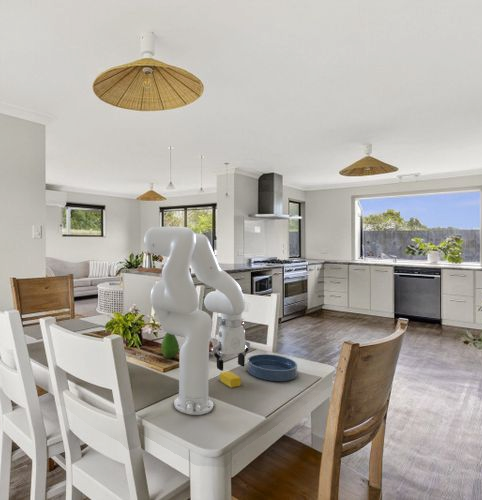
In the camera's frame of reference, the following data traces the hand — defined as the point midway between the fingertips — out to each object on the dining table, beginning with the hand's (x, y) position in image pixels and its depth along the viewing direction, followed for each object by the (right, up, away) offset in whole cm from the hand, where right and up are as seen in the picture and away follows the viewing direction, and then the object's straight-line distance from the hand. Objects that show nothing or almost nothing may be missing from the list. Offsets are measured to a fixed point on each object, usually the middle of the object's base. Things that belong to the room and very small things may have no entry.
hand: (230, 367), depth 136 cm
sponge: (0, -6, 0) cm, 6 cm away
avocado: (-22, -5, +27) cm, 35 cm away
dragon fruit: (-7, -5, +31) cm, 32 cm away
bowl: (+19, -6, +10) cm, 22 cm away
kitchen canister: (+10, -4, +44) cm, 46 cm away
